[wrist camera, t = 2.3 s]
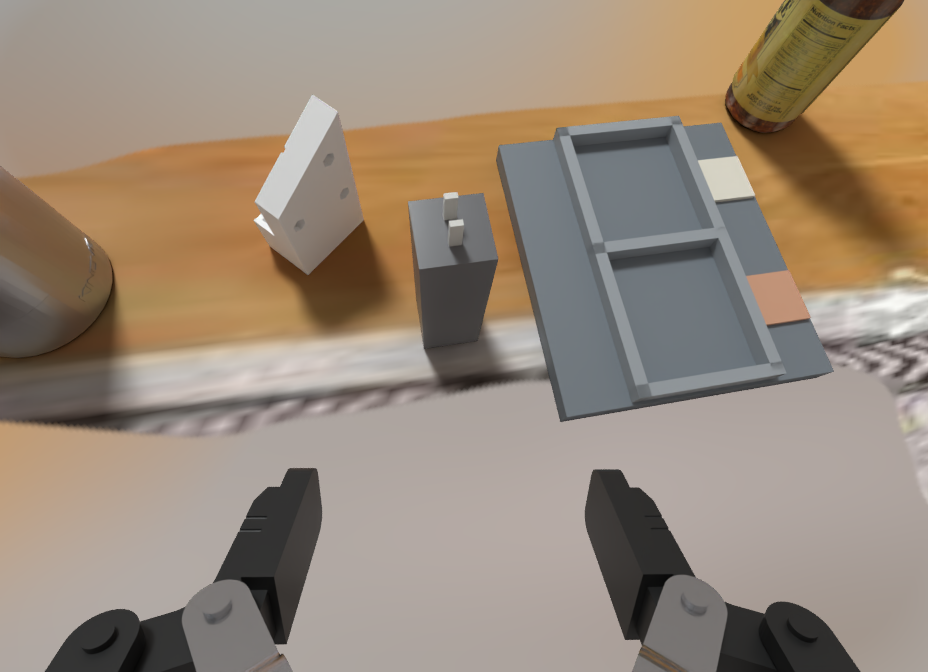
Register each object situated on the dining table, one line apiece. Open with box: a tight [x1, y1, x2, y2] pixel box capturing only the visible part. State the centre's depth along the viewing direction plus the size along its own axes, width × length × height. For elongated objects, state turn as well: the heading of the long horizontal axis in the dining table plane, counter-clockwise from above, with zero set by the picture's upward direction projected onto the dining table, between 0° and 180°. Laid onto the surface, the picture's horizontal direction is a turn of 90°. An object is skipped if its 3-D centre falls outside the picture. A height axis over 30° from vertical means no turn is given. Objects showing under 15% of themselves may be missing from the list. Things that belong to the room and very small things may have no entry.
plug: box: [408, 192, 498, 349], centre depth 26 cm, size 4×4×13 cm
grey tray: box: [496, 116, 833, 422], centre depth 33 cm, size 18×21×3 cm
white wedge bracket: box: [254, 95, 364, 275], centre depth 31 cm, size 4×10×9 cm, turn 143°
